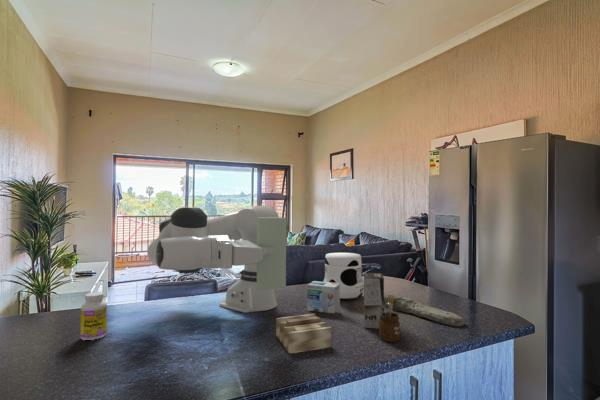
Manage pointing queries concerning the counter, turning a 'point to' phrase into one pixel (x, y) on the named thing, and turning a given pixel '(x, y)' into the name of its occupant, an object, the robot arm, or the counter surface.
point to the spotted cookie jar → (345, 274)
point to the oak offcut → (306, 327)
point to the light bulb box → (323, 297)
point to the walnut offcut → (302, 321)
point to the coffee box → (373, 299)
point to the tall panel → (273, 265)
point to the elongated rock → (424, 311)
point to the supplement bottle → (93, 317)
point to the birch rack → (303, 335)
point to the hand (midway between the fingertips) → (271, 249)
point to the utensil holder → (389, 324)
